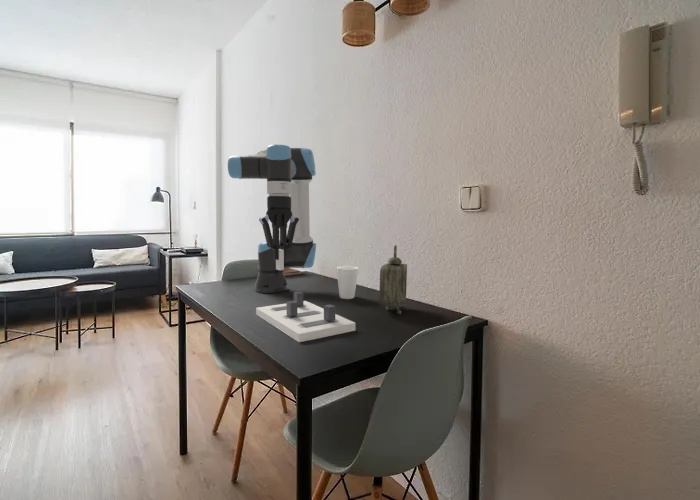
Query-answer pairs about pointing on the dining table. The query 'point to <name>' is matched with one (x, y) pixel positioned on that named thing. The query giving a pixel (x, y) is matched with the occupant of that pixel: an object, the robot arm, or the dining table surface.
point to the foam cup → (347, 281)
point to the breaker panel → (304, 321)
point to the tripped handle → (291, 308)
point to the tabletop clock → (393, 282)
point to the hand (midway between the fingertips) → (279, 269)
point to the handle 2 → (329, 312)
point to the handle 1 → (298, 298)
